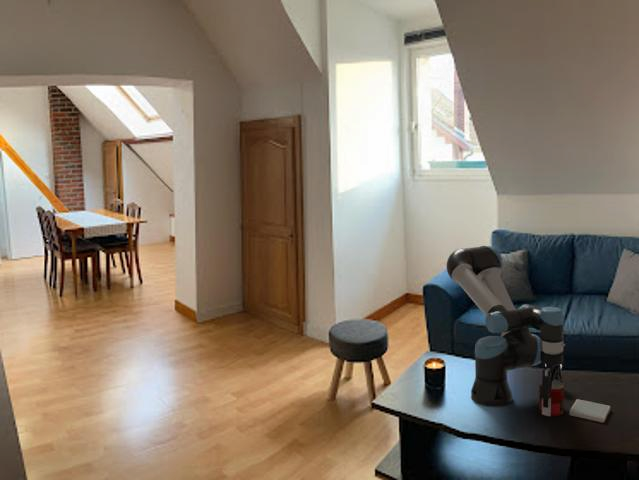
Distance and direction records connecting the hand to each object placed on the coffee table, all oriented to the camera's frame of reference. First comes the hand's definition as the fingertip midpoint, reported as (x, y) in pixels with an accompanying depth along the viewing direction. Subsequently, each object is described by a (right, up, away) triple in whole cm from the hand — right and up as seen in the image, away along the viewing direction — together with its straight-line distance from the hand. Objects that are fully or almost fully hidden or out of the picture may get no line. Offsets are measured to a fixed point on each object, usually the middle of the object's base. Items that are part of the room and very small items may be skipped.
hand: (551, 407), depth 196 cm
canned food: (0, -2, 0) cm, 2 cm away
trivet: (+13, -1, -2) cm, 13 cm away
